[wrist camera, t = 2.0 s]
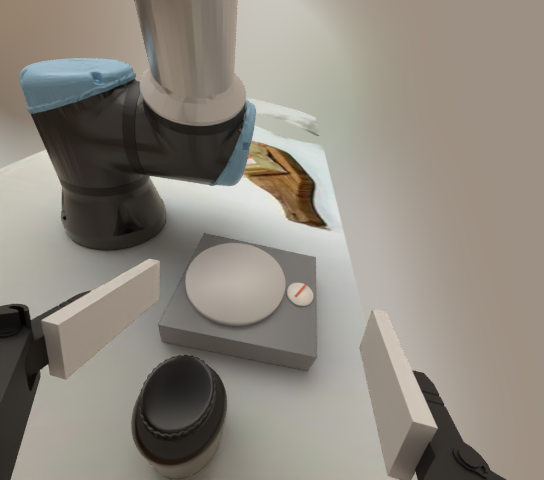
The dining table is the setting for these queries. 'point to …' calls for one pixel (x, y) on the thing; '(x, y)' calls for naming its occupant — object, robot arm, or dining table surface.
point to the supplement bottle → (179, 416)
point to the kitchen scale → (246, 303)
